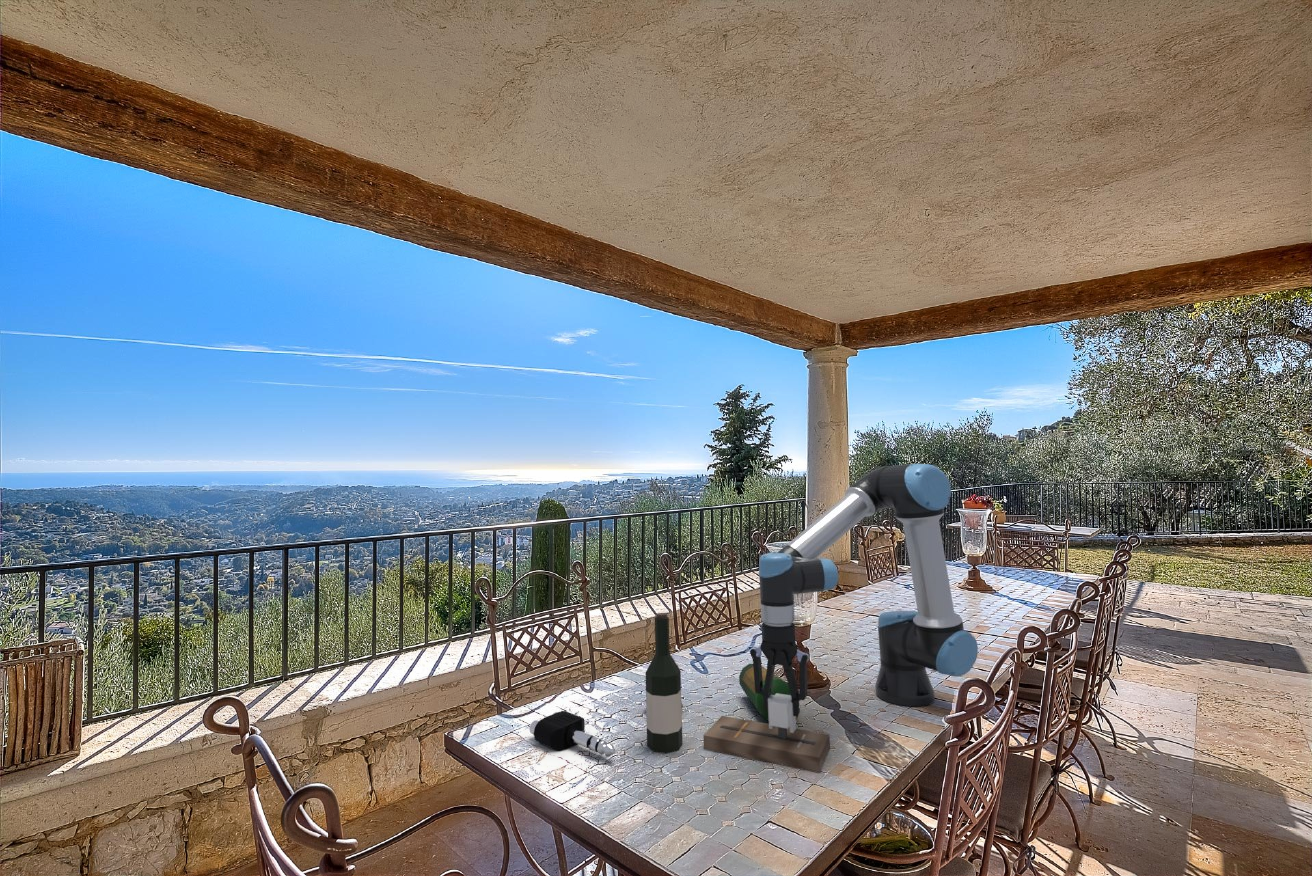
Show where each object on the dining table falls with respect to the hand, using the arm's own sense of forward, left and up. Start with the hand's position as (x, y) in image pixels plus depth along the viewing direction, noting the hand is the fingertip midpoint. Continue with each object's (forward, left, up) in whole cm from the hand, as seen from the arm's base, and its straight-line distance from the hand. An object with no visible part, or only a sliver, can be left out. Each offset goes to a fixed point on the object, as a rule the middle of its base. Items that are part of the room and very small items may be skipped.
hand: (782, 728), depth 128 cm
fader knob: (0, 0, -2) cm, 2 cm away
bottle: (+17, -30, 0) cm, 34 cm away
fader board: (+4, 0, -5) cm, 6 cm away
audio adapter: (+44, +17, -6) cm, 48 cm away
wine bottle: (+26, +8, -5) cm, 28 cm away
